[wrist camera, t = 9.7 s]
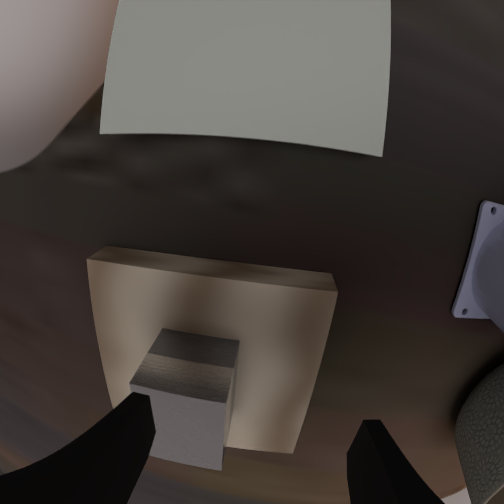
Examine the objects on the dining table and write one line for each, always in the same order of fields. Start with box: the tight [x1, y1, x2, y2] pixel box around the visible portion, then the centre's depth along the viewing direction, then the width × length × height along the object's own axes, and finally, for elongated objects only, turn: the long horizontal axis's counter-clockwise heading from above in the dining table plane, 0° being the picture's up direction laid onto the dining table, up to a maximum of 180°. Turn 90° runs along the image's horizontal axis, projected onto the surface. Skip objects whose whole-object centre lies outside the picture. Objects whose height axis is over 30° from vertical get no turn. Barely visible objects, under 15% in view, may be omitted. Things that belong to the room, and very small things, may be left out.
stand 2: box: [87, 246, 338, 453], centre depth 20 cm, size 14×14×2 cm
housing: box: [129, 328, 240, 471], centre depth 16 cm, size 4×6×5 cm
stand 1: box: [100, 0, 391, 157], centre depth 13 cm, size 14×14×2 cm
